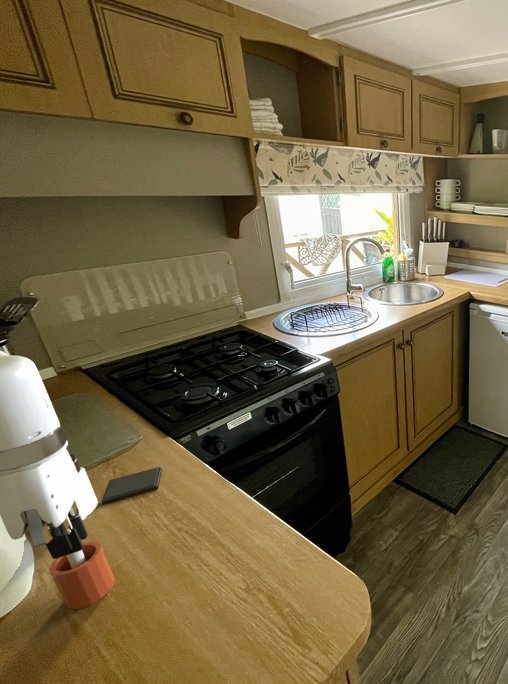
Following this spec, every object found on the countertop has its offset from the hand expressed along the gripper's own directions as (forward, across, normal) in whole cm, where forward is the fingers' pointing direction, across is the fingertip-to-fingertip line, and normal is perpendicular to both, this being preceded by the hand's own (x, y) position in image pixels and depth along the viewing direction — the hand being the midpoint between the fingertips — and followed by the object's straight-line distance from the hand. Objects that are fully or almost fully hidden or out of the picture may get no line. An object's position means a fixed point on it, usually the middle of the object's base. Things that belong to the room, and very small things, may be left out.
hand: (71, 546), depth 56 cm
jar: (+10, -22, -8) cm, 26 cm away
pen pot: (+10, 0, 0) cm, 10 cm away
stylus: (+9, 0, 0) cm, 9 cm away
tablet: (+10, -26, +1) cm, 28 cm away
